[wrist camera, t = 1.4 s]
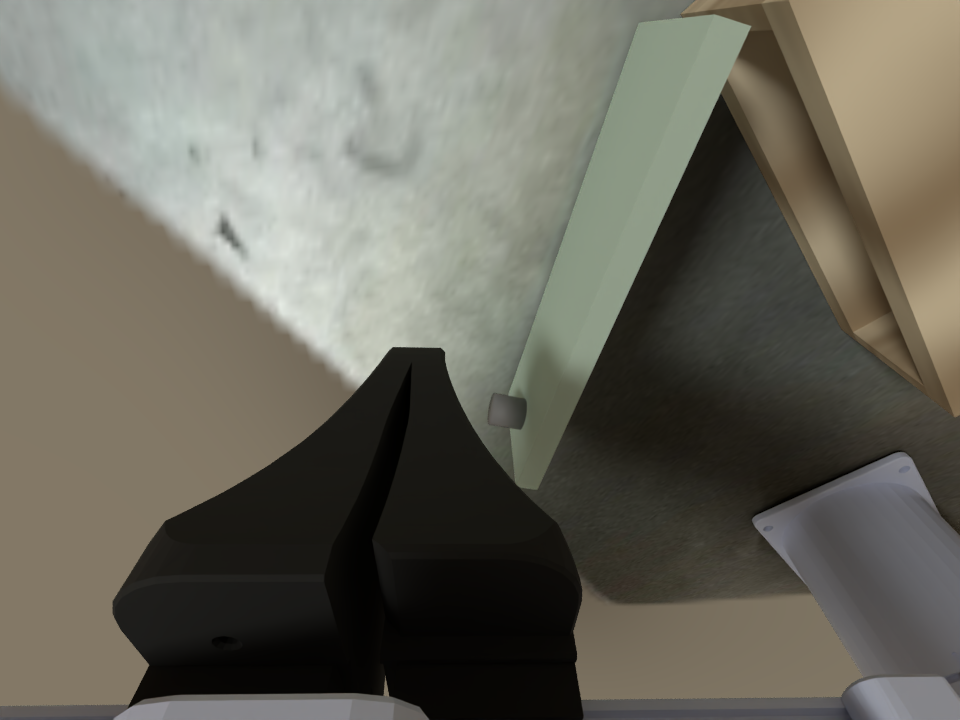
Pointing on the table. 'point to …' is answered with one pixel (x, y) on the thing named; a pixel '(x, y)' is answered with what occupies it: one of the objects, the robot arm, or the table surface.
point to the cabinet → (863, 163)
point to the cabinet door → (614, 223)
